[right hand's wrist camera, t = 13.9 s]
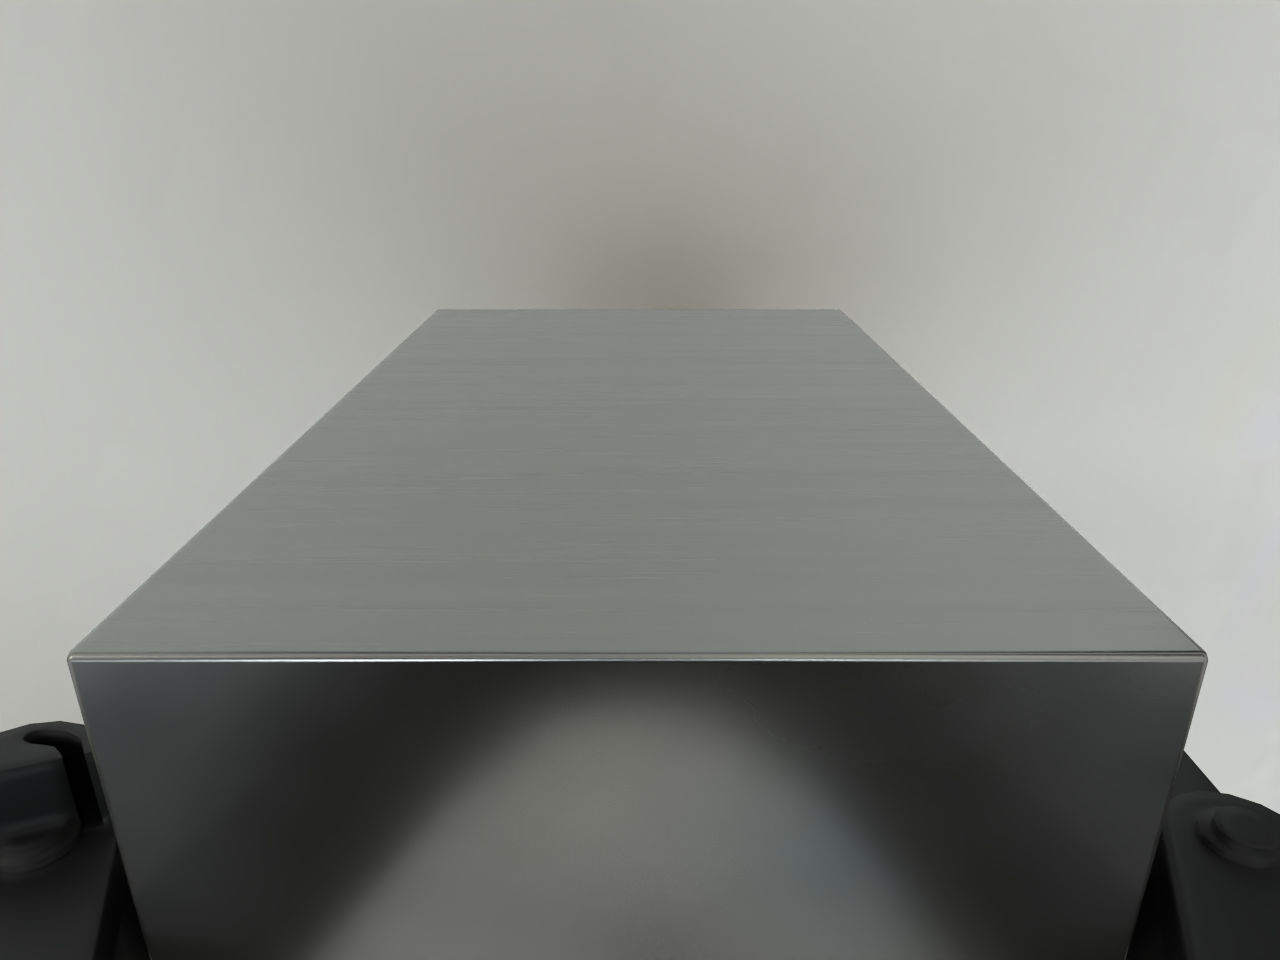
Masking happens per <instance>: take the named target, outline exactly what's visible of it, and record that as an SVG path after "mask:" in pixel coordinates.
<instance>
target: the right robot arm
mask: <svg viewBox="0 0 1280 960" xmlns="http://www.w3.org/2000/svg"><path fill="white" fill-rule="evenodd" d="M0 960H150V959H149V955H148V952H147V948H146V945H145V941H144V937H143V934H142V930H141V926H140V923H139V919H138V916H137V912H136V908H135V905H134V901H133V897H132V894H131V890H130V887H129V883H128V879H127V876H126V872H125V869H124V865H123V861H122V858H121V854H120V850H119V847H118V843H117V840H116V836H115V832H114V829H113V825H112V821H111V818H110V814H109V811H108V807H107V803H106V800H105V796H104V793H103V789H102V785H101V782H100V778H99V774H98V771H97V767H96V764H95V760H94V756H93V753H92V749H91V746H90V742H89V738H88V735H87V731H86V727H85V725H82V724H76V723H69V722H63V721H56V722H46V723H36V724H28V725H25V726H21V727H18V728H14V729H11V730H7V731H4V732H0ZM1126 960H1280V814H1278V813H1276V812H1274V811H1272V810H1270V809H1269V808H1267V807H1265V806H1263V805H1261V804H1258V803H1255V802H1252V801H1249V800H1246V799H1242V798H1239V797H1236V796H1233V795H1230V794H1223V793H1220V792H1219V791H1218V789H1217V788H1216V787H1215V786H1214V785H1213V784H1212V783H1211V781H1210V780H1209V779H1208V778H1207V777H1206V776H1205V774H1204V773H1203V772H1202V771H1201V770H1200V769H1199V767H1198V766H1197V765H1196V764H1195V763H1194V762H1193V761H1192V759H1191V758H1190V757H1189V756H1188V755H1187V754H1186V752H1185V751H1183V754H1182V758H1181V762H1180V765H1179V769H1178V772H1177V776H1176V780H1175V783H1174V787H1173V791H1172V794H1171V798H1170V802H1169V805H1168V809H1167V813H1166V816H1165V820H1164V824H1163V827H1162V831H1161V834H1160V838H1159V842H1158V845H1157V849H1156V853H1155V856H1154V860H1153V864H1152V867H1151V871H1150V875H1149V878H1148V882H1147V886H1146V889H1145V893H1144V896H1143V900H1142V904H1141V907H1140V911H1139V915H1138V918H1137V922H1136V926H1135V929H1134V933H1133V937H1132V940H1131V944H1130V948H1129V951H1128V955H1127V959H1126Z"/></svg>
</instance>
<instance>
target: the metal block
mask: <svg viewBox="0 0 1280 960" xmlns="http://www.w3.org/2000/svg"><path fill="white" fill-rule="evenodd" d="M67 662H68V666H69V670H70V673H71V677H72V680H73V684H74V688H75V691H76V695H77V698H78V702H79V706H80V709H81V713H82V717H83V720H84V724H85V727H86V731H87V735H88V738H89V742H90V746H91V749H92V753H93V756H94V760H95V764H96V767H97V771H98V774H99V778H100V782H101V785H102V789H103V793H104V796H105V800H106V803H107V807H108V811H109V814H110V818H111V821H112V825H113V829H114V832H115V836H116V840H117V843H118V847H119V850H120V854H121V858H122V861H123V865H124V869H125V872H126V876H127V879H128V883H129V887H130V890H131V894H132V897H133V901H134V905H135V908H136V912H137V916H138V919H139V923H140V926H141V930H142V934H143V937H144V941H145V945H146V948H147V952H148V955H149V959H150V960H1126V959H1127V955H1128V951H1129V948H1130V944H1131V940H1132V937H1133V933H1134V929H1135V926H1136V922H1137V918H1138V915H1139V911H1140V907H1141V904H1142V900H1143V896H1144V893H1145V889H1146V886H1147V882H1148V878H1149V875H1150V871H1151V867H1152V864H1153V860H1154V856H1155V853H1156V849H1157V845H1158V842H1159V838H1160V834H1161V831H1162V827H1163V824H1164V820H1165V816H1166V813H1167V809H1168V805H1169V802H1170V798H1171V794H1172V791H1173V787H1174V783H1175V780H1176V776H1177V772H1178V769H1179V765H1180V762H1181V758H1182V754H1183V751H1184V747H1185V743H1186V740H1187V736H1188V732H1189V729H1190V725H1191V721H1192V718H1193V714H1194V710H1195V707H1196V703H1197V699H1198V696H1199V692H1200V689H1201V685H1202V681H1203V678H1204V674H1205V670H1206V667H1207V663H1208V657H1207V654H1206V652H1205V651H1204V650H1203V649H1202V648H1201V647H1200V646H1198V645H1197V644H1196V643H1195V642H1194V641H1193V640H1192V639H1191V638H1190V637H1189V636H1188V635H1187V634H1186V633H1185V632H1184V631H1182V630H1181V629H1180V628H1179V627H1178V626H1177V625H1176V624H1175V623H1174V622H1173V621H1172V620H1171V619H1170V618H1169V617H1168V616H1166V615H1165V614H1164V613H1163V612H1162V611H1161V610H1160V609H1159V608H1158V607H1157V606H1156V605H1155V604H1154V603H1153V602H1152V601H1150V600H1149V599H1148V598H1147V597H1146V596H1145V595H1144V594H1143V593H1142V592H1141V591H1140V590H1139V589H1138V588H1137V587H1136V586H1135V585H1133V584H1132V583H1131V582H1130V581H1129V580H1128V579H1127V578H1126V577H1125V576H1124V575H1123V574H1122V573H1121V572H1120V571H1119V570H1117V569H1116V568H1115V567H1114V566H1113V565H1112V564H1111V563H1110V562H1109V561H1108V560H1107V559H1106V558H1105V557H1104V556H1103V555H1101V554H1100V553H1099V552H1098V551H1097V550H1096V549H1095V548H1094V547H1093V546H1092V545H1091V544H1090V543H1089V542H1088V541H1087V540H1085V539H1084V538H1083V537H1082V536H1081V535H1080V534H1079V533H1078V532H1077V531H1076V530H1075V529H1074V528H1073V527H1072V526H1071V525H1069V524H1068V523H1067V522H1066V521H1065V520H1064V519H1063V518H1062V517H1061V516H1060V515H1059V514H1058V513H1057V512H1056V511H1055V510H1053V509H1052V508H1051V507H1050V506H1049V505H1048V504H1047V503H1046V502H1045V501H1044V500H1043V499H1042V498H1041V497H1040V496H1039V495H1037V494H1036V493H1035V492H1034V491H1033V490H1032V489H1031V488H1030V487H1029V486H1028V485H1027V484H1026V483H1025V482H1024V481H1023V480H1022V479H1020V478H1019V477H1018V476H1017V475H1016V474H1015V473H1014V472H1013V471H1012V470H1011V469H1010V468H1009V467H1008V466H1007V465H1006V464H1004V463H1003V462H1002V461H1001V460H1000V459H999V458H998V457H997V456H996V455H995V454H994V453H993V452H992V451H991V450H990V449H988V448H987V447H986V446H985V445H984V444H983V443H982V442H981V441H980V440H979V439H978V438H977V437H976V436H975V435H974V434H972V433H971V432H970V431H969V430H968V429H967V428H966V427H965V426H964V425H963V424H962V423H961V422H960V421H959V420H958V419H956V418H955V417H954V416H953V415H952V414H951V413H950V412H949V411H948V410H947V409H946V408H945V407H944V406H943V405H942V404H940V403H939V402H938V401H937V400H936V399H935V398H934V397H933V396H932V395H931V394H930V393H929V392H928V391H927V390H926V389H924V388H923V387H922V386H921V385H920V384H919V383H918V382H917V381H916V380H915V379H914V378H913V377H912V376H911V375H910V374H908V373H907V372H906V371H905V370H904V369H903V368H902V367H901V366H900V365H899V364H898V363H897V362H896V361H895V360H894V359H893V358H891V357H890V356H889V355H888V354H887V353H886V352H885V351H884V350H883V349H882V348H881V347H880V346H879V345H878V344H877V343H875V342H874V341H873V340H872V339H871V338H870V337H869V336H868V335H867V334H866V333H865V332H864V331H863V330H862V329H861V328H859V327H858V326H857V325H856V324H855V323H854V322H853V321H852V320H851V319H850V318H849V317H848V316H847V315H846V314H845V313H843V312H842V311H841V310H437V311H436V312H435V313H434V314H433V315H432V316H431V317H429V318H428V319H427V320H426V321H425V322H424V323H423V324H422V325H421V326H420V327H419V328H418V329H417V330H416V331H414V332H413V333H412V334H411V335H410V336H409V337H408V338H407V339H406V340H405V341H404V342H403V343H402V344H400V345H399V346H398V347H397V348H396V349H395V350H394V351H393V352H392V353H391V354H390V355H389V356H388V357H386V358H385V359H384V360H383V361H382V362H381V363H380V364H379V365H378V366H377V367H376V368H375V369H374V370H372V371H371V372H370V373H369V374H368V375H367V376H366V377H365V378H364V379H363V380H362V381H361V382H360V383H359V384H357V385H356V386H355V387H354V388H353V389H352V390H351V391H350V392H349V393H348V394H347V395H346V396H345V397H343V398H342V399H341V400H340V401H339V402H338V403H337V404H336V405H335V406H334V407H333V408H332V409H331V410H329V411H328V412H327V413H326V414H325V415H324V416H323V417H322V418H321V419H320V420H319V421H318V422H317V423H315V424H314V425H313V426H312V427H311V428H310V429H309V430H308V431H307V432H306V433H305V434H304V435H303V436H301V437H300V438H299V439H298V440H297V441H296V442H295V443H294V444H293V445H292V446H291V447H290V448H289V449H288V450H286V451H285V452H284V453H283V454H282V455H281V456H280V457H279V458H278V459H277V460H276V461H275V462H274V463H272V464H271V465H270V466H269V467H268V468H267V469H266V470H265V471H264V472H263V473H262V474H261V475H260V476H258V477H257V478H256V479H255V480H254V481H253V482H252V483H251V484H250V485H249V486H248V487H247V488H246V489H244V490H243V491H242V492H241V493H240V494H239V495H238V496H237V497H236V498H235V499H234V500H233V501H232V502H231V503H229V504H228V505H227V506H226V507H225V508H224V509H223V510H222V511H221V512H220V513H219V514H218V515H217V516H215V517H214V518H213V519H212V520H211V521H210V522H209V523H208V524H207V525H206V526H205V527H204V528H203V529H201V530H200V531H199V532H198V533H197V534H196V535H195V536H194V537H193V538H192V539H191V540H190V541H189V542H187V543H186V544H185V545H184V546H183V547H182V548H181V549H180V550H179V551H178V552H177V553H176V554H175V555H174V556H172V557H171V558H170V559H169V560H168V561H167V562H166V563H165V564H164V565H163V566H162V567H161V568H160V569H158V570H157V571H156V572H155V573H154V574H153V575H152V576H151V577H150V578H149V579H148V580H147V581H146V582H144V583H143V584H142V585H141V586H140V587H139V588H138V589H137V590H136V591H135V592H134V593H133V594H132V595H130V596H129V597H128V598H127V599H126V600H125V601H124V602H123V603H122V604H121V605H120V606H119V607H118V608H117V609H115V610H114V611H113V612H112V613H111V614H110V615H109V616H108V617H107V618H106V619H105V620H104V621H103V622H101V623H100V624H99V625H98V626H97V627H96V628H95V629H94V630H93V631H92V632H91V633H90V634H89V635H87V636H86V637H85V638H84V639H83V640H82V641H81V642H80V643H79V644H78V645H77V646H76V647H75V648H73V649H72V650H71V651H70V652H69V654H68V659H67Z"/></svg>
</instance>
